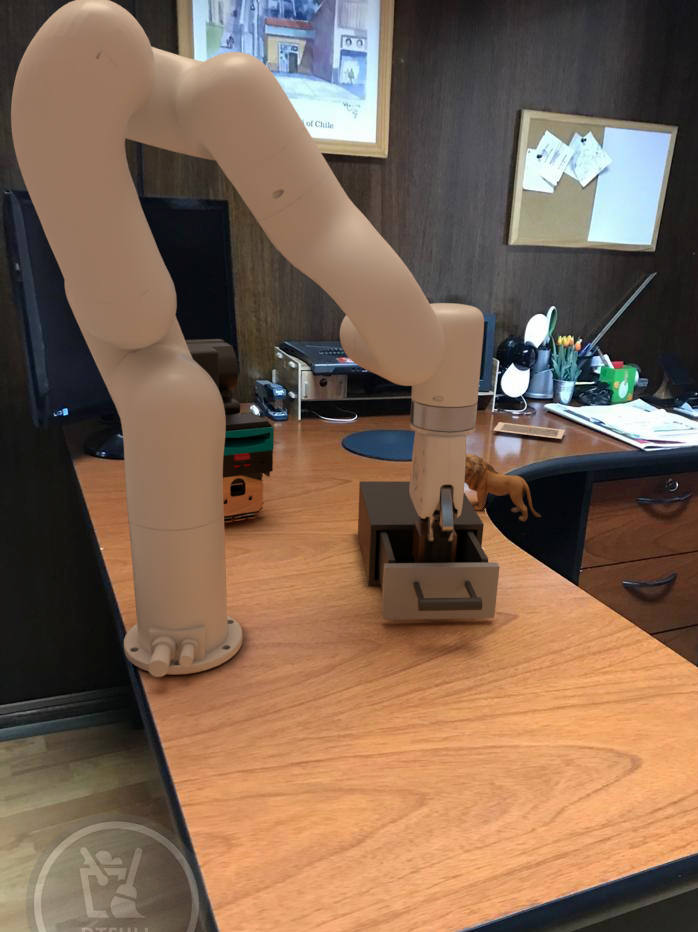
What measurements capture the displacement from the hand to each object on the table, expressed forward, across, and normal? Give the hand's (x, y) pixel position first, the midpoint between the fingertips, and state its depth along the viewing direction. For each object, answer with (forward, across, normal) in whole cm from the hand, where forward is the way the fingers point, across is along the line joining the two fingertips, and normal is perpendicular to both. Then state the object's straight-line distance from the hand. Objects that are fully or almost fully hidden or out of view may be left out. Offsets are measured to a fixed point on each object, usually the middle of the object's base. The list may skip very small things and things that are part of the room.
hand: (432, 559), depth 95 cm
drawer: (+5, +1, 0) cm, 5 cm away
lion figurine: (+6, -31, +16) cm, 35 cm away
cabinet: (+6, -13, 0) cm, 14 cm away
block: (0, 0, 0) cm, 0 cm away
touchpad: (+6, -78, +36) cm, 86 cm away
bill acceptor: (+6, -34, -29) cm, 45 cm away
